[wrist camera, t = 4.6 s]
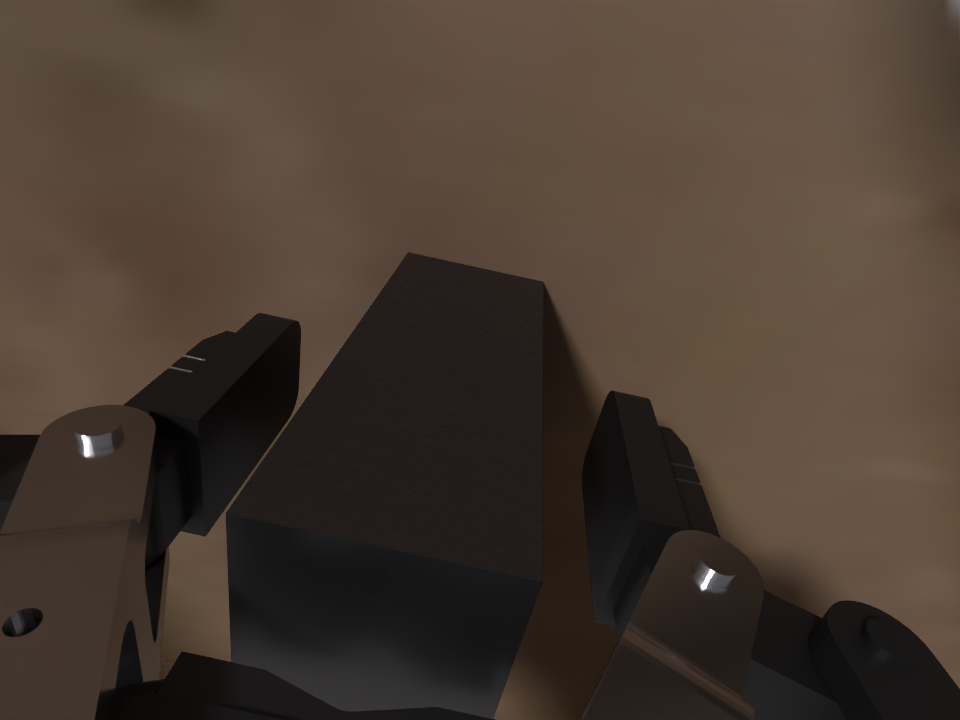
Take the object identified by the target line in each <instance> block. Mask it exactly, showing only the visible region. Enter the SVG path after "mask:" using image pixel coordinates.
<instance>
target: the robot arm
mask: <svg viewBox="0 0 960 720" xmlns="http://www.w3.org/2000/svg"><path fill="white" fill-rule="evenodd" d="M300 345H301V328H300V324H299V322H298V321H295V320H290V319H286V318H281V317H277V316H272V315H268V314H263V313H259V314H257V315H255V316H254V317H253V318H252V319H251V320H250V321H249V322H247V323H246V324H245V325H244V326H243V327H242V328H241V329H240V330H238V331H237V332H236V333H234V332H230V331H225V332H223V333H220V334H218V335H215V336H212V337H210V338H207V339H205V340H202V341H201V342H200V343H198V344H197V345H196V346H195V347H194V348H192V349H191V350H190V351H189V352H187V353H186V355H185V357H181V358H180V359H179V360H178V361H177V362H175V363H174V364H173V365H172V367H171V369H167V370H166V371H164V372H163V373H162V374H161V375H160V376H158V377H157V378H156V379H155V380H153V381H152V382H151V383H150V384H149V385H147V386H146V387H145V388H144V389H143V390H141V391H140V392H139V393H138V394H136V395H135V396H134V397H133V398H132V399H130V400H129V401H128V402H127V403H126V404H124V405H123V406H122V405H102V406H94V407H88V408H84V409H80V410H77V411H74V412H71V413H69V414H66V415H64V416H62V417H60V418H58V419H57V420H55V421H53V422H52V423H51V424H50V425H48V426H47V427H46V428H45V429H44V430H43V432H42V433H41V435H0V720H495V719H490V718H486V717H481V716H477V715H472V714H467V713H463V712H458V711H454V710H449V709H444V708H440V707H426V708H408V709H391V710H373V711H355V712H351V711H343V710H340V709H337V708H335V707H333V706H331V705H329V704H328V703H326V702H324V701H322V700H320V699H318V698H317V697H315V696H313V695H311V694H309V693H307V692H305V691H304V690H302V689H300V688H298V687H296V686H294V685H293V684H291V683H289V682H287V681H285V680H283V679H281V678H280V677H278V676H276V675H274V674H272V673H270V672H269V671H267V670H265V669H260V668H256V667H251V666H246V665H242V664H237V663H233V662H228V661H223V660H219V659H214V658H210V657H205V656H200V655H196V654H191V653H186V652H181V654H180V655H179V657H178V659H177V660H176V662H175V664H174V665H173V667H172V668H171V670H170V672H169V673H168V675H167V677H166V678H165V679H164V680H160V655H161V645H162V634H163V624H164V614H165V603H166V593H167V582H168V572H169V562H170V554H169V545H170V544H171V542H172V541H173V540H174V538H175V537H176V536H177V535H178V533H179V532H180V531H183V532H187V533H192V534H197V535H201V536H206V535H207V534H208V532H209V531H210V529H211V528H212V527H213V525H214V524H215V522H216V521H217V520H218V518H219V517H220V515H221V514H222V512H223V511H224V510H225V508H226V507H227V505H228V504H229V503H230V501H231V500H232V498H233V497H234V496H235V494H236V493H237V491H238V490H239V488H240V487H241V486H242V484H243V483H244V481H245V480H246V479H247V477H248V476H249V474H250V473H251V472H252V470H253V469H254V467H255V466H256V465H257V463H258V462H259V460H260V459H261V457H262V456H263V455H264V453H265V452H266V450H267V449H268V448H269V446H270V445H271V443H272V442H273V441H274V439H275V438H276V436H277V435H278V434H279V432H280V431H281V429H282V428H283V426H284V425H285V424H286V422H287V421H288V419H289V418H290V416H291V414H292V412H293V410H294V407H295V404H296V400H297V396H298V390H299V369H300ZM699 483H700V481H699V478H698V475H697V472H696V470H694V464H693V461H692V459H691V456H690V453H689V451H688V448H687V446H686V445H685V444H684V443H683V442H682V441H681V440H680V438H679V437H678V436H677V435H676V434H675V433H674V432H673V431H672V429H670V428H665V427H661V426H658V424H657V421H656V417H655V414H654V411H653V408H652V404H651V402H650V400H649V399H648V398H644V397H639V396H635V395H630V394H626V393H621V392H616V391H610V392H609V394H608V395H607V397H606V400H605V402H604V405H603V408H602V410H601V413H600V416H599V419H598V422H597V424H596V427H595V430H594V433H593V436H592V438H591V441H590V444H589V447H588V450H587V453H586V456H585V460H584V465H583V471H582V490H583V501H584V512H585V524H586V535H587V547H588V558H589V569H590V581H591V592H592V604H593V615H594V623H598V624H603V625H608V626H612V627H616V632H617V640H618V642H617V644H616V646H615V648H614V650H613V652H612V654H611V656H610V658H609V660H608V663H607V665H606V667H605V669H604V671H603V673H602V675H601V677H600V679H599V681H598V683H597V685H596V688H595V690H594V692H593V694H592V696H591V698H590V700H589V702H588V704H587V706H586V708H585V710H584V713H583V715H582V717H581V719H580V720H960V689H959V688H958V686H957V685H956V684H955V682H954V681H953V680H952V678H951V677H950V676H949V674H948V673H947V672H946V670H945V669H944V668H943V666H942V665H941V664H940V662H939V661H938V660H937V659H936V657H935V656H934V655H933V653H932V652H931V651H930V650H929V648H928V647H927V646H926V645H925V644H924V643H923V642H922V640H921V639H920V638H919V637H918V636H917V635H915V634H914V633H913V632H912V631H911V630H910V629H909V628H907V627H906V626H905V625H903V624H902V623H901V622H899V621H898V620H896V619H895V618H893V617H892V616H890V615H889V614H887V613H885V612H883V611H881V610H879V609H877V608H875V607H872V606H870V605H867V604H864V603H861V602H856V601H839V602H837V603H835V604H833V605H832V606H831V607H830V608H829V609H828V611H827V612H826V613H825V615H824V616H823V617H822V618H821V617H819V616H816V615H814V614H812V613H810V612H808V611H806V610H804V609H801V608H799V607H797V606H795V605H793V604H791V603H789V602H786V601H784V600H782V599H780V598H778V597H776V596H774V595H772V594H770V593H768V592H767V591H765V590H764V584H763V580H762V578H761V575H760V574H759V572H758V570H757V568H756V567H755V566H754V564H753V563H752V562H751V561H750V560H749V559H748V557H747V556H746V555H744V554H743V553H742V552H741V551H740V550H739V549H737V548H736V547H735V546H733V545H732V544H730V543H729V542H727V541H725V540H724V539H721V538H720V535H719V532H718V530H717V527H716V524H715V522H714V519H713V516H712V513H711V511H710V508H709V505H708V502H707V500H706V497H705V494H704V491H703V489H702V486H699Z"/></svg>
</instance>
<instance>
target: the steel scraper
mask: <svg viewBox="0 0 960 720" xmlns="http://www.w3.org/2000/svg"><path fill="white" fill-rule="evenodd" d="M542 531H543V282H541V281H537V280H532V279H527V278H523V277H518V276H514V275H509V274H505V273H500V272H495V271H491V270H486V269H482V268H477V267H473V266H468V265H463V264H459V263H454V262H450V261H445V260H441V259H436V258H431V257H427V256H422V255H418V254H413V253H409V252H408V253H407V255H406V256H405V258H404V259H403V261H402V262H401V263H400V265H399V266H398V268H397V269H396V271H395V272H394V273H393V275H392V276H391V278H390V279H389V281H388V282H387V283H386V285H385V286H384V288H383V289H382V291H381V292H380V293H379V295H378V296H377V298H376V299H375V301H374V302H373V304H372V305H371V306H370V308H369V309H368V311H367V312H366V314H365V315H364V316H363V318H362V319H361V321H360V322H359V324H358V325H357V326H356V328H355V329H354V331H353V332H352V334H351V335H350V336H349V338H348V339H347V341H346V342H345V344H344V345H343V346H342V348H341V349H340V351H339V352H338V354H337V355H336V356H335V358H334V359H333V361H332V362H331V364H330V365H329V366H328V368H327V369H326V371H325V372H324V374H323V375H322V376H321V378H320V379H319V381H318V382H317V384H316V385H315V387H314V388H313V389H312V391H311V392H310V394H309V395H308V397H307V398H306V399H305V401H304V402H303V404H302V405H301V407H300V408H299V409H298V411H297V412H296V414H295V415H294V417H293V418H292V419H291V421H290V422H289V424H288V425H287V427H286V428H285V429H284V431H283V432H282V434H281V435H280V437H279V438H278V439H277V441H276V442H275V444H274V445H273V447H272V448H271V449H270V451H269V452H268V454H267V455H266V457H265V458H264V459H263V461H262V462H261V464H260V465H259V467H258V468H257V470H256V471H255V472H254V474H253V475H252V477H251V478H250V480H249V481H248V482H247V484H246V485H245V487H244V488H243V490H242V491H241V492H240V494H239V495H238V497H237V498H236V500H235V501H234V502H233V504H232V505H231V507H230V508H229V510H228V511H227V512H226V532H227V558H228V585H229V612H230V638H231V662H233V663H237V664H242V665H246V666H251V667H256V668H260V669H265V670H267V671H269V672H270V673H272V674H274V675H276V676H278V677H280V678H281V679H283V680H285V681H287V682H289V683H291V684H293V685H294V686H296V687H298V688H300V689H302V690H304V691H305V692H307V693H309V694H311V695H313V696H315V697H317V698H318V699H320V700H322V701H324V702H326V703H328V704H329V705H331V706H333V707H335V708H337V709H340V710H343V711H351V712H355V711H373V710H391V709H408V708H426V707H440V708H444V709H449V710H454V711H458V712H463V713H467V714H472V715H477V716H481V717H486V718H490V719H493V717H494V715H495V712H496V709H497V706H498V703H499V701H500V698H501V695H502V692H503V690H504V687H505V684H506V681H507V679H508V676H509V673H510V670H511V667H512V665H513V662H514V659H515V656H516V654H517V651H518V648H519V645H520V643H521V640H522V637H523V634H524V631H525V629H526V626H527V623H528V620H529V618H530V615H531V612H532V609H533V607H534V604H535V601H536V598H537V595H538V593H539V590H540V587H541V584H542Z"/></svg>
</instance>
